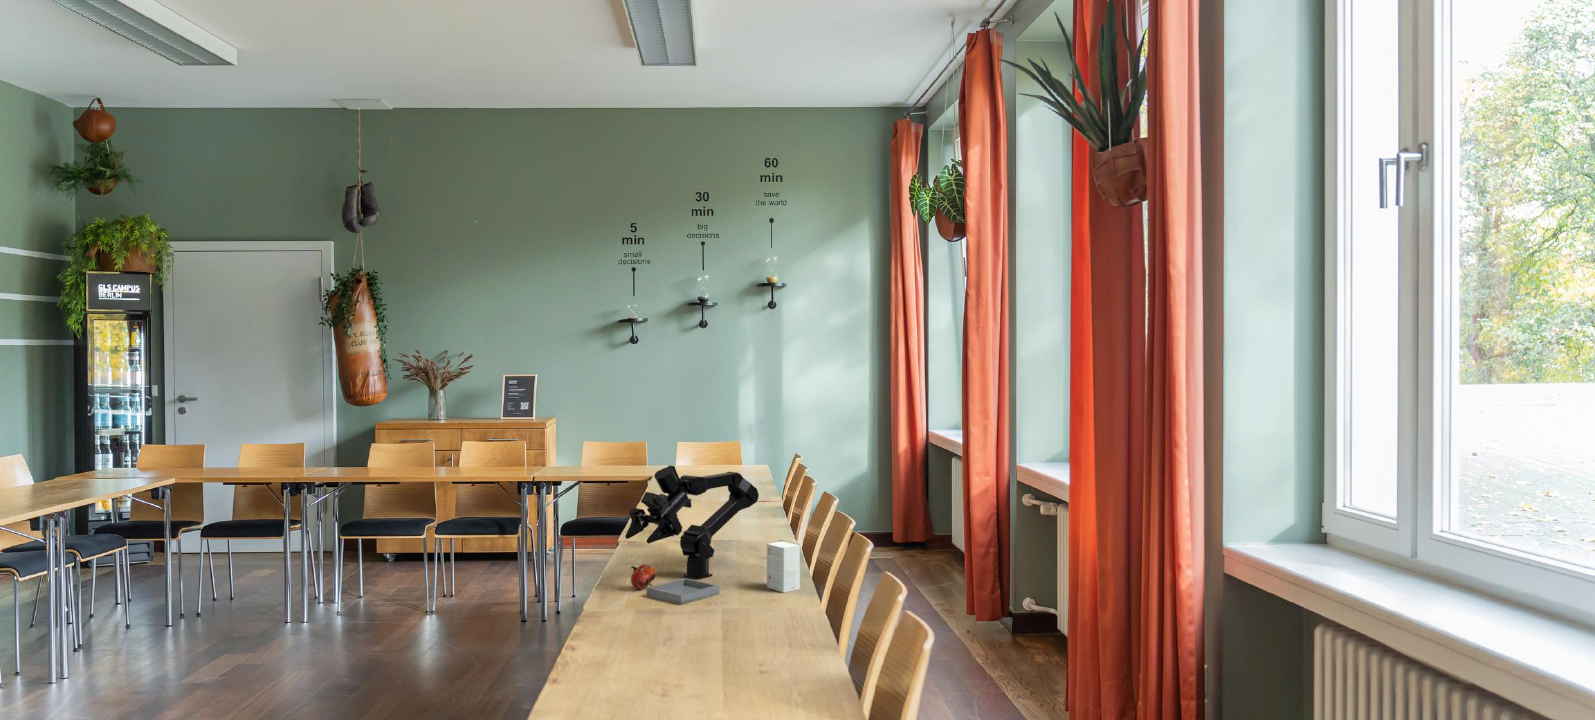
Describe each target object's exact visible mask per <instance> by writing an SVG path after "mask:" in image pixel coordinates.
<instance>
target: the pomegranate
mask: <svg viewBox="0 0 1595 720" xmlns="http://www.w3.org/2000/svg"><path fill="white" fill-rule="evenodd" d="M630 569H633V573H632V574H631V576H630V583H631V585H632V587H633V588H635V589H636V590H638V591H641V590H643V589H646V588H647V587H651V586H653V585H652V584H651V582H652V581H654V580H655V578H656V576H657V575H658V573H657V571H656V568H654V567H653V566H652V565H649V564H641V565H639V566H638V567H635V566H634V565H632V566H631V567H630Z"/></svg>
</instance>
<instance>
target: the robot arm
mask: <svg viewBox="0 0 1595 720" xmlns="http://www.w3.org/2000/svg"><path fill="white" fill-rule="evenodd" d="M653 475H654V476H653V477H654V479H655V481H656V483H657V485H658V486H659V488H660V490H661V493H659V494H657V493H654V492H650V491H649V492H648V491H645V492H644V494H643V496H642V498H641V500H640V502H641V504H643V505H645V506H646V507H647V509H646V510H647V512H648V513H649V514H647V513H646V512H645V510H644V509H643V508H637V507H632V508H631V509H630V510H629V511H628V515H629V517H630V519H631V521H630V525H629V527H628V530H627V532H626V533H625V536H624V537H625V539H626V540H628V539H631V538H633V537H634V536H636V535H638V534H640V533H642V532H643V531H645V528H646V529H647V527H648V526H649V525H650V524H654V525H655V526H657V527H656V528H655V529H654V530H653V532H652V533H651V534H650V535H649V536H648V537H647V539H646V543H647V544H651V543H655V542H658V541H660V540H664V539H666V538H670V537H674V536H679V535H680V534H681V533H683V534H682V535H681V536H680V541H679V544H680V545H679V546H680V548H681V552H682V555H683V556H685V557H686V558H687V560H686V561H687V562H686V573H685V574H683V577H684V578H685V577H686V578H689V579H694V580H701V579H705V578H708V577H712V576H713V573H710V561H709V559H711V558H713V557H714V554H715V549H714V548H713V547H712V546H711V543H712V539H713V536H714V535H716V534H717V533H718V532H719V531H720V530H721V529H722V528H723V527H724V526H725V525H726V524H727V523H728V522H729V521H730V520H731V519H733V518H734V516H736V515H737V514H738V513H739V511H743V510H745V509H747V508H750V507H752V506H753V505H755V504H756V503H757V502H758V501H759V491H758V490H759V489H758V488H757V487H756V486H754V485H753V484H752V483H751V482H750V481H748V480H747V479H746V478H744V477H743V476H742V474H741V473H739V472H737V471H736V472H735V471H727V472H722V473H716V474H711V475H710V474H709V475H705V476H700V475H699V476H697V475H688V474H687V475H686V474H684V475H681V476H679V474H678V472H677V469H676V467H675V465H670V464H669V465H668V466H667V467H663V468H661V469H659V470H657V471H656V472H655V473H654V474H653ZM722 487H723V488H724V487H727V491H728V493H729V496H728V500H727V501H726V502H725V503H724V504H723V505H722V506H721V507H720V508H718V509H717V510H716V511H715V512H714V513H713V514H712V515H711V516H709V517H708V519H706V520H705V521H704V522H703V523H702V524H701V525H698V524H691V525H690V526H688V528H687V529H686V530H684V531H682V530H683V526H682V523H681V522H680V519H679V518H678V514H677V513H679V511H680V510H681V509H682V508H687V509H688V508H689V509H691V508H692V499H691V498H689V496H696V497H697V496H699V495H700V496H701V495H702V494H705V493H706V492H707V491H708V490H713V489H717V488H722ZM688 495H689V496H688Z"/></svg>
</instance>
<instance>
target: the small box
mask: <svg viewBox="0 0 1595 720" xmlns="http://www.w3.org/2000/svg"><path fill="white" fill-rule="evenodd" d="M800 546H801V545H800V544H795V543H792V542H787V541H777V542H770V543H767V544H766V587H767V588H766V589H771V590H773V591H777V592H781V593H790V592H794V591H798V590H800V588H801V576H800V575H801V556H800V555H801V551H800V550H801V547H800Z"/></svg>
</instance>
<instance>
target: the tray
mask: <svg viewBox="0 0 1595 720" xmlns="http://www.w3.org/2000/svg"><path fill="white" fill-rule="evenodd" d="M717 595H720V585H719V584H714V583H711V582H705V581H700V580H698V579H693V578H688V577H686V578H685V577H683V578H680V579H675V580H671V581H667V582H664V583H660V584H655V585H652V586H647V587H646V597H647V598H651V597H653V598H652V599H655V600H661V601H665V602H668V603H672V604H676V605H685V604H688V603H693V602H696V601H700V600H703V599H707V598H711V597H714V596H717Z"/></svg>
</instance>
